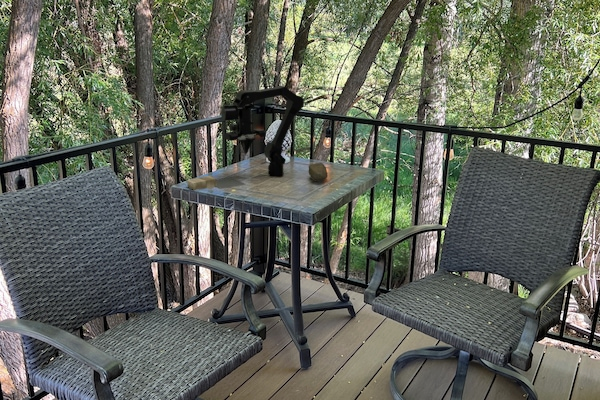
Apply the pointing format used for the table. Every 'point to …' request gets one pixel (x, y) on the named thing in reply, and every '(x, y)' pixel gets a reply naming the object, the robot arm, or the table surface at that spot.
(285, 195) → the table surface
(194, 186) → the maple block
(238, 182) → the rubber mat
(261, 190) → the table surface
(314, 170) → the stone
